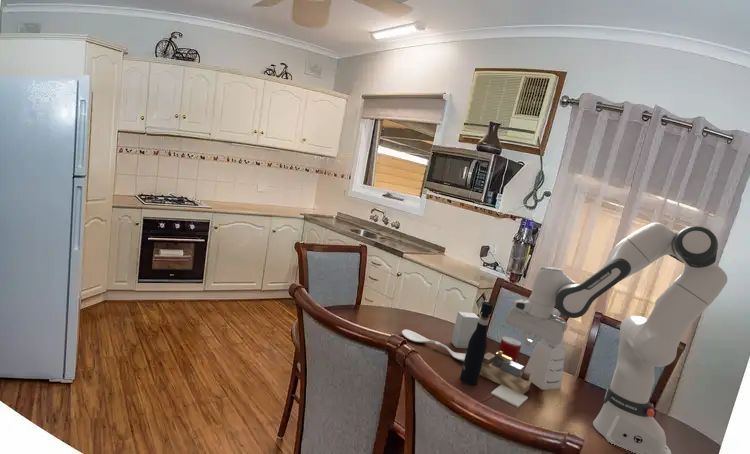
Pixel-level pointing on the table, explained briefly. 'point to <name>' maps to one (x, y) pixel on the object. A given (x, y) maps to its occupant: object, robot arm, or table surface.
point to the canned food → (510, 347)
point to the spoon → (419, 338)
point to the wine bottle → (476, 348)
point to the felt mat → (509, 395)
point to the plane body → (504, 374)
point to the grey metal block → (512, 368)
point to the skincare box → (464, 329)
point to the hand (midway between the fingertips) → (528, 344)
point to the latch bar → (503, 356)
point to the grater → (546, 364)
